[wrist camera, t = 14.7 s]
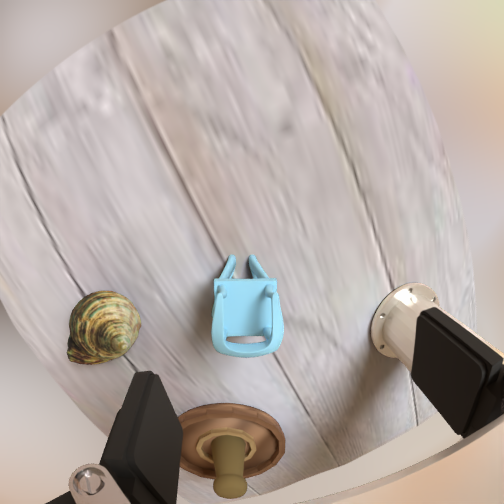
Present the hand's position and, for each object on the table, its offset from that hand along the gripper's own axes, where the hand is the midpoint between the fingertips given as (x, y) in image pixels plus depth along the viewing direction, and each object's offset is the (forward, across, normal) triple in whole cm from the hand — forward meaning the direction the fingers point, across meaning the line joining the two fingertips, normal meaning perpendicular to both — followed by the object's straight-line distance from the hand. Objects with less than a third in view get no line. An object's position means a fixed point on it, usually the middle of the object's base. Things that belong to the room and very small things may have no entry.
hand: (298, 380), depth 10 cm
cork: (+28, +10, +36) cm, 46 cm away
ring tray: (+28, +10, +36) cm, 47 cm away
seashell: (+29, +21, +8) cm, 36 cm away
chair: (+28, +2, +7) cm, 29 cm away
